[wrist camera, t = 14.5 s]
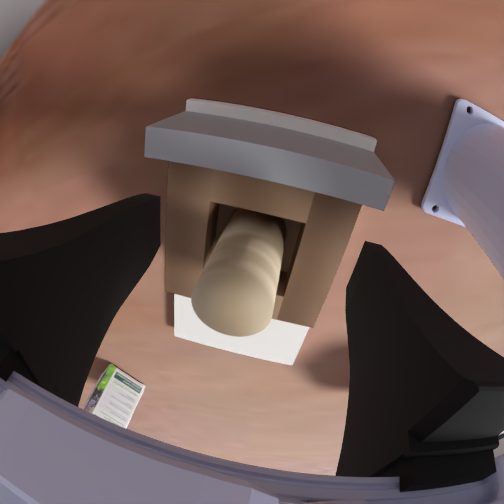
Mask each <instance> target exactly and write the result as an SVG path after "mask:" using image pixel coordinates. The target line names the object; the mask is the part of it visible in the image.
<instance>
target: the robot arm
mask: <svg viewBox="0 0 504 504" xmlns="http://www.w3.org/2000/svg"><path fill="white" fill-rule="evenodd" d="M468 106H469V107H470V113H467V107H468ZM435 205H437V208H436V209H435V210H432V207H433V206H435ZM421 208H422V209H423V211H424V212H425V213H428V214H430V215H433V216H436V217H439V218H442V219H445V220H448V221H450V222H453V223H456V224H458V225H461V226H464V227H466V228H467V229H468V230H469V232H470V233H471V234H472V235H473V237H474V238H475V239H476V241H477V242H478V243H479V245H480V246H481V248H482V249H483V250H484V252H485V253H486V254H487V256H488V257H489V259H490V260H491V262H492V263H493V265H494V266H495V267H496V269H497V270H498V272H499V273H500V275H501V276H502V278H503V280H504V121H502V120H501V119H499V118H497V117H496V116H494V115H492V114H490V113H489V112H487V111H485V110H483V109H482V108H480V107H478V106H476V105H474V104H472V103H470V102H469V101H467V100H464V99H458V100H456V102H455V105H454V108H453V112H452V115H451V119H450V122H449V126H448V129H447V132H446V135H445V139H444V142H443V145H442V148H441V151H440V154H439V157H438V160H437V163H436V166H435V168H434V171H433V174H432V177H431V179H430V182H429V185H428V187H427V190H426V192H425V195H424V198H423V200H422V203H421ZM159 247H160V196H156V195H151V194H146V193H145V194H140V195H136V196H133V197H129V198H126V199H123V200H121V201H118V202H115V203H112V204H110V205H107V206H104V207H101V208H99V209H96V210H93V211H90V212H87V213H84V214H81V215H78V216H76V217H73V218H69V219H66V220H63V221H59V222H55V223H52V224H48V225H44V226H39V227H34V228H29V229H25V230H20V231H13V232H7V233H0V504H287V503H294V504H504V454H503V455H500V456H498V457H496V458H494V453H493V449H496V448H497V447H498V446H499V440H498V435H499V434H500V433H501V432H503V431H504V357H502V356H501V355H499V354H498V353H496V352H495V351H493V350H492V349H490V348H489V347H487V346H486V345H484V344H483V343H482V342H480V341H479V340H478V339H476V338H475V337H474V336H472V335H471V334H470V333H469V332H467V331H466V330H465V329H464V328H462V327H461V326H460V325H459V324H458V323H456V322H455V321H454V320H453V319H452V318H451V317H450V316H449V315H448V314H447V313H445V312H444V311H443V310H442V309H441V308H440V307H439V306H438V305H437V304H436V303H435V302H434V301H433V300H432V299H431V298H430V297H429V296H428V295H427V294H426V293H425V292H424V291H423V290H422V289H421V287H420V286H419V285H418V284H417V283H416V282H415V281H414V280H413V279H412V277H411V276H410V275H409V274H408V273H407V272H406V271H405V269H404V268H403V267H402V266H401V265H400V264H399V263H398V262H397V260H396V259H395V258H394V257H393V256H392V255H391V254H390V253H389V252H388V251H387V250H386V249H385V248H384V247H383V246H382V245H379V244H375V243H371V242H367V241H365V242H364V245H363V248H362V250H361V253H360V255H359V258H358V260H357V263H356V265H355V268H354V270H353V273H352V275H351V278H350V280H349V283H348V285H347V287H346V323H347V334H348V346H349V359H350V385H349V399H348V408H347V417H346V425H345V431H344V437H343V443H342V449H341V454H340V458H339V463H338V467H337V472H336V476H328V475H316V474H306V473H297V472H290V471H282V470H276V469H269V468H263V467H258V466H252V465H247V464H242V463H238V462H233V461H229V460H224V459H220V458H216V457H212V456H208V455H204V454H201V453H197V452H193V451H190V450H186V449H183V448H180V447H177V446H173V445H170V444H167V443H164V442H161V441H158V440H155V439H153V438H150V437H147V436H144V435H141V434H139V433H136V432H134V431H131V430H128V429H126V428H123V427H121V426H119V425H116V424H114V423H111V422H109V421H107V420H105V419H102V418H100V417H98V416H96V415H93V414H91V413H89V412H87V411H85V410H83V409H81V408H79V407H78V404H79V401H80V398H81V394H82V391H83V388H84V385H85V382H86V379H87V377H88V374H89V371H90V369H91V366H92V363H93V361H94V358H95V356H96V354H97V351H98V349H99V347H100V345H101V342H102V340H103V338H104V336H105V334H106V332H107V330H108V328H109V326H110V324H111V322H112V320H113V318H114V317H115V315H116V313H117V312H118V310H119V308H120V307H121V306H122V304H123V303H124V301H125V300H126V298H127V297H128V296H129V294H130V293H131V291H132V290H133V288H134V287H135V286H136V284H137V283H138V282H139V280H140V279H141V277H142V276H143V274H144V273H145V272H146V270H147V269H148V267H149V266H150V264H151V262H152V260H153V259H154V257H155V255H156V253H157V251H158V249H159ZM282 502H285V503H282Z"/></svg>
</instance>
